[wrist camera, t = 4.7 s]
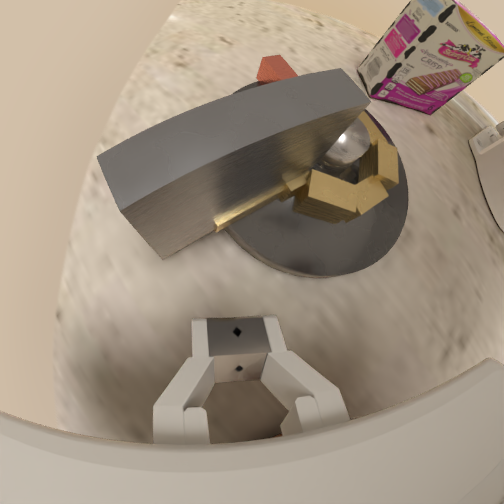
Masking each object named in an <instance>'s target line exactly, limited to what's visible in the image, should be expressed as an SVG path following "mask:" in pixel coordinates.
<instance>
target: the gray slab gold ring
mask: <svg viewBox="0 0 504 504" xmlns="http://www.w3.org/2000/svg"><path fill="white" fill-rule="evenodd" d="M370 103H371V101H370V100H369V99H368V97H367V96H366V95H365V94H364V93H363V92H362V90H361V89H360V88H359V87H358V86H357V85H356V84H355V83H354V81H353V80H352V79H351V78H350V77H349V76H348V75H347V74H346V73H345V72H344V71H343V70H342V69H341V68H340V69H333V70H327V71H322V72H316V73H311V74H306V75H302V76H297V77H293V78H288V79H284V80H280V81H276V82H272V83H269V84H265V85H262V86H258V87H255V88H251V89H248V90H245V91H241V92H238V93H235V94H232V95H229V96H226V97H223V98H221V99H218V100H215V101H212V102H209V103H207V104H204V105H202V106H199V107H196V108H194V109H191V110H189V111H187V112H184V113H182V114H179V115H177V116H175V117H172V118H170V119H168V120H166V121H163V122H161V123H159V124H157V125H155V126H153V127H151V128H149V129H147V130H145V131H143V132H141V133H139V134H137V135H135V136H133V137H131V138H129V139H127V140H125V141H123V142H121V143H120V144H118V145H116V146H114V147H112V148H111V149H109V150H107V151H105V152H104V153H102V154H100V155H99V156H97V159H98V162H99V164H100V167H101V169H102V172H103V174H104V176H105V179H106V181H107V184H108V186H109V188H110V190H111V193H112V195H113V197H114V199H115V202H116V204H117V206H118V208H119V210H120V212H121V213H122V214H123V215H124V217H125V218H126V219H127V220H128V221H129V222H130V224H131V225H132V226H133V227H134V228H135V229H136V230H137V232H138V233H139V234H140V235H141V236H142V237H143V238H144V240H145V241H146V242H147V243H148V244H149V245H150V246H151V247H152V248H153V250H154V251H155V252H156V253H157V254H158V255H159V256H160V257H161V258H162V259H165V258H167V257H169V256H170V255H172V254H174V253H175V252H177V251H179V250H180V249H182V248H184V247H186V246H187V245H189V244H191V243H192V242H194V241H196V240H198V239H199V238H201V237H203V236H205V235H206V234H208V233H210V232H212V231H213V230H214V231H215V232H216V233H217V232H218V231H220V230H222V229H224V228H225V227H227V226H229V225H231V224H233V223H234V222H236V221H238V220H240V219H241V218H243V217H245V216H247V215H249V214H250V213H252V212H254V211H256V210H258V209H260V208H261V207H263V206H265V205H267V204H269V203H271V202H272V201H274V200H276V199H278V198H279V200H280V201H281V203H282V202H284V201H286V200H287V199H289V198H291V197H293V196H295V201H294V206H293V211H294V212H297V213H300V214H304V215H307V216H310V217H313V218H316V219H320V220H323V221H326V222H329V223H332V224H337V223H339V222H340V221H342V220H344V221H345V222H346V223H347V222H349V221H351V220H353V219H355V218H357V217H358V216H360V215H362V214H363V213H365V212H366V211H368V210H369V209H371V208H372V207H373V206H375V205H376V204H378V203H379V202H381V201H382V200H384V199H385V198H386V197H388V196H389V195H388V193H387V192H386V191H387V190H389V189H390V188H392V187H394V186H395V185H397V184H399V179H398V155H397V148H396V147H394V146H392V145H390V144H388V142H387V140H386V139H385V137H384V136H383V135H382V133H381V132H380V131H379V129H378V128H377V127H376V125H375V124H374V123H373V121H372V120H371V119H370V117H369V116H368V115H367V114H366V112H365V111H363V110H364V109H365V108H366V107H367V106H368V105H369V104H370ZM357 117H358V118H359V119H360V120H361V121H362V122H363V124H364V125H365V127H366V128H367V130H368V132H369V136H370V146H369V148H368V150H367V151H366V152H365V153H364V154H363V155H361V156H360V161H359V182H358V184H356V185H354V184H351V183H349V182H346V181H344V180H341V179H338V178H336V177H333V176H330V175H328V174H325V173H322V172H319V171H316V170H314V169H313V168H314V166H315V165H316V164H317V163H318V162H319V161H320V160H321V158H322V157H323V156H324V155H325V154H326V153H327V151H328V150H329V149H330V148H331V147H332V146H333V145H334V143H335V142H336V141H337V140H338V139H339V138H340V137H341V135H342V134H343V133H344V132H345V131H346V130H347V129H348V127H349V126H350V125H351V124H352V123H353V122H354V121H355V120H356V118H357Z"/></svg>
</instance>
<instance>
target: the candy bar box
mask: <svg viewBox="0 0 504 504" xmlns="http://www.w3.org/2000/svg"><path fill="white" fill-rule="evenodd" d="M502 58H504V46H503V45H502V43H501V42H500V41H499V39H498V38H497V37H496V36H495V35H494V34H493V32H492V31H491V30H490V29H489V28H488V27H487V26H486V25H485V24H484V23H483V22H482V21H481V20H480V19H479V18H478V17H477V16H476V15H475V14H474V13H472V12H471V11H470V10H469V9H468V8H467V7H466V6H464V5H463V4H462V3H461V2H460V1H458V0H411V1H410V2H409V3H408V4H407V6H406V7H405V8H404V9H403V11H402V12H401V13H400V15H399V16H398V17H397V18H396V20H395V21H394V22H393V24H392V25H391V26H390V28H389V29H388V30H387V31H386V32H385V34H384V35H383V36H382V38H381V39H380V40H379V41H378V43H377V44H376V45H375V47H374V48H373V49H372V50H371V52H370V53H369V55H368V56H367V57H366V58H365V60H364V61H363V62H362V63H361V65H360V66H359V67H358V69H357V70H358V73H359V75H360V77H361V79H362V81H363V83H364V85H365V88H366V90H367V92H368V94H369V96H370V97H373V98H377V99H381V100H385V101H389V102H392V103H396V104H399V105H402V106H406V107H409V108H412V109H415V110H418V111H421V112H424V113H427V114H429V115H431V114H433V113H434V112H435V111H436V110H438V109H439V108H440V107H441V106H443V105H444V104H445V103H447V102H448V101H449V100H450V99H452V98H453V97H454V96H455V95H457V94H458V93H459V92H461V91H462V90H463V89H464V88H466V87H467V86H468V85H469V84H471V83H472V82H473V81H475V80H476V79H477V78H479V77H480V76H481V75H483V74H484V73H485V72H486V71H488V70H489V69H490V68H491V67H492V66H494V65H495V64H496V63H498V62H499V61H500V60H501V59H502Z"/></svg>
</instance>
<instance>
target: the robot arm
mask: <svg viewBox="0 0 504 504" xmlns="http://www.w3.org/2000/svg"><path fill="white" fill-rule="evenodd" d="M496 129H497V131H498V132H499V134H498V133H497V132H496V131H495V129H494V128H493V127H492V126H488V127H486V128H485V129H483V130H482V131H481V132H479V133H478V134H476V135H475V136H473V137H472V138H471V139H469V144H470V147H471V149H472V152H473V154H474V157H475V159H476V163H477V168H478V173H479V177H480V181H481V184H482V188H483V191H484V194H485V197H486V199H487V202H488V204H489V207H490V209H491V211H492V214H493V216H494V218H495V220H496V221H497V223H498V225H499V226H500V228H501V229H502V231H503V232H504V121H503V122H501V123H500V124H498V125H497V126H496ZM191 325H192V357H188V358H187V360H186V361H185V362H184V364H183V365H182V367H181V368H180V369H179V371H178V372H177V374H176V375H175V376H174V378H173V379H172V381H171V382H170V383H169V385H168V386H167V387H166V389H165V390H164V392H163V393H162V394H161V396H160V397H159V399H158V400H157V401H156V403H155V404H154V405H153V444H149V443H136V442H126V441H118V440H110V439H103V438H97V437H91V436H86V435H81V434H76V433H71V432H67V431H63V430H59V429H55V428H51V427H47V426H44V425H40V424H37V423H33V422H30V421H27V420H24V419H21V418H19V417H16V416H13V415H10V414H8V413H5V412H3V411H0V504H504V365H503V364H501V363H500V362H498V361H497V360H495V359H493V358H487V359H485V360H483V361H482V362H480V363H478V364H477V365H475V366H473V367H472V368H470V369H468V370H467V371H465V372H463V373H461V374H460V375H458V376H456V377H454V378H452V379H450V380H449V381H447V382H445V383H443V384H441V385H439V386H437V387H435V388H433V389H431V390H428V391H426V392H424V393H422V394H420V395H418V396H415V397H413V398H411V399H408V400H406V401H404V402H401V403H399V404H396V405H394V406H391V407H388V408H386V409H383V410H380V411H377V412H375V413H372V414H369V415H366V416H363V417H360V418H356V419H353V420H350V417H349V414H348V412H347V409H346V406H345V404H344V401H343V398H342V396H341V393H340V390H339V388H337V387H336V386H335V385H334V384H332V383H331V382H330V381H329V380H327V379H326V378H325V377H323V376H322V375H321V374H320V373H319V372H317V371H316V370H315V369H314V368H312V367H311V366H310V365H309V364H307V363H306V362H305V361H304V360H303V359H301V358H300V357H299V356H298V355H296V354H295V353H294V352H293V351H292V350H291V351H288V350H287V347H286V344H285V341H284V337H283V334H282V331H281V328H280V325H279V321H278V318H277V316H276V315H265V316H247V317H234V318H207V319H206V318H192V322H191ZM247 380H260V381H261V382H262V383H263V384H264V385H265V386H266V387H267V388H268V390H269V391H270V392H271V393H272V394H273V395H274V396H275V397H276V398H277V399H278V400H279V401H280V402H281V403H282V404H283V406H284V407H285V408H286V409H287V410H288V411H289V412H288V414H287V415H286V417H285V419H284V420H283V422H282V423H281V425H280V427H281V431H282V435H283V436H281V437H275V438H268V439H261V440H253V441H244V442H234V443H220V444H210V437H209V429H208V421H207V413H206V410H205V409H203V408H202V407H203V405H204V403H205V401H206V399H207V397H208V396H209V394H210V392H211V390H212V388H213V386H214V384H215V383H221V382H232V381H247Z"/></svg>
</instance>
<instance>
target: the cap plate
mask: <svg viewBox="0 0 504 504" xmlns="http://www.w3.org/2000/svg"><path fill="white" fill-rule="evenodd" d="M297 76H298V75H297V74H296V73H295V72H294V70H293V69H292V68H291V67H290V66H289V65H288V63H287V62H286V61H285V60H284V59H283V58H282V57H281V55H275V56H268V57H263V58H262V61H261V64H260V68H259V71H258V74H257V77H256V78H257V79H258V82H254V83H252V84H249V85H247V86H245V87H243V88H241V89H239V90H238V91H236V92H234V93H233V94H235V93H238V92H241V91H245V90H248V89H251V88H255V87H258V86H262V85H265V84H269V83H272V82H276V81H280V80H284V79H288V78H293V77H297ZM363 111H365V112H366V114H367V115H368V116H369V117H370V119H371V120H372V121H373V123H374V124H375V125H376V127H377V128H378V129H379V131H380V132H381V133H382V135H383V136H384V137H385V139H386V140H387V142H388V144H390V145H392V146H394V147H395V145H394V144H393V142H392V140H391V139H390V137H389V135H388V134H387V133H386V131H385V130H384V128H383V127H382V126H381V125H380V124H379V122H378V121H377V120H376V119H375V118H374V117H373V116H372V115H371V114H370V113H369V112H368V111H367V110H366V109H364V110H363ZM369 146H370V136H369V132H368V130H367V128H366V127H365V125H364V124H363V122H362V121H361V120H360V119H359V118H358V117H357V118H356V120H355V121H354V122H353V123H352V124H351V125H350V126H349V127H348V129H347V130H346V131H345V132H344V133H343V134H342V135H341V137H340V138H339V139H338V140H337V141H336V142H335V143H334V145H333V146H332V147H331V148H330V149H329V150H328V151H327V153H326V154H325V155H324V156H323V157H322V158H321V160H320V161H319V162H318V163H317V164H316V165H315V166H314V168H313V169H314V170H316V171H319V172H322V173H325V174H328V175H330V176H333V177H336V178H338V179H341V180H344V181H346V182H349V183H351V184H354V185H356V184H358V182H359V161H360V156H361V155H363V154H364V153H365V152H366V151H367V150H368V148H369ZM397 155H398V179H399V184H397V185H395V186H394V187H392V188H390V189H389V190H387V191H386V192H387V193H388V195H389V196H388V197H386V198H385V199H384V200H382V201H381V202H379V203H378V204H376V205H375V206H373V207H372V208H371V209H369V210H368V211H366V212H365V213H363V214H362V215H360V216H358V217H357V218H355V219H353V220H351V221H349V222H347V223H346V222H345V221H344V220H342V221H340V222H339V223H337V224H332V223H329V222H326V221H323V220H320V219H316V218H313V217H310V216H307V215H304V214H300V213H297V212H294V211H293V206H294V201H295V196H293V197H291V198H289V199H287V200H286V201H284V202H282V203H281V201H280V200H279V198H278V199H276V200H274V201H272V202H271V203H269V204H267V205H265V206H263V207H261V208H260V209H258V210H256V211H254V212H252V213H250V214H249V215H247V216H245V217H243V218H241V219H240V220H238V221H236V222H234V223H233V224H231V225H229V226H227V227H225V228H224V229H225V230H226V231H227V233H228V234H229V235H230V236H231V237H232V238H233V239H234V240H235V241H236V242H237V243H238V244H239V245H240V246H241V247H242V248H243V249H244V250H245V251H247V252H248V253H249V254H251V255H252V256H253V257H254V258H256V259H258V260H259V261H261V262H263V263H265V264H266V265H268V266H270V267H272V268H275V269H277V270H280V271H282V272H285V273H289V274H292V275H296V276H301V277H309V278H327V277H333V276H338V275H343V274H348V273H353V272H356V271H359V270H361V269H364V268H366V267H368V266H370V265H372V264H374V263H375V262H377V261H378V260H379V259H381V258H382V257H383V256H384V255H385V254H386V253H387V252H388V251H389V250H390V249H391V248H392V247H393V245H394V244H395V242H396V241H397V239H398V237H399V236H400V233H401V231H402V229H403V226H404V223H405V219H406V216H407V209H408V185H407V179H406V174H405V170H404V167H403V164H402V161H401V158H400V156H399V154H398V151H397Z"/></svg>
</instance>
